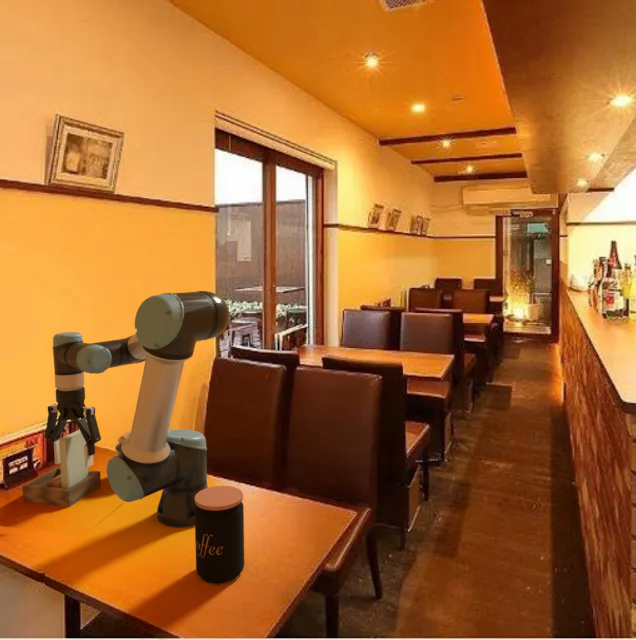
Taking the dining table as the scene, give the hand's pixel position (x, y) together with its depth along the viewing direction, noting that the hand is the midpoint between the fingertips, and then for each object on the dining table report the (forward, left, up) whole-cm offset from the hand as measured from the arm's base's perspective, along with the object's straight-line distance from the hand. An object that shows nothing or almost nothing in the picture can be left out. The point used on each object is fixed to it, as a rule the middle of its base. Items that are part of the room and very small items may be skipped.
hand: (74, 464), depth 158 cm
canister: (-11, -16, -11) cm, 22 cm away
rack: (+4, 0, -11) cm, 11 cm away
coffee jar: (-55, +24, -11) cm, 61 cm away
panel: (0, 0, -9) cm, 9 cm away
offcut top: (+4, +1, -7) cm, 8 cm away
